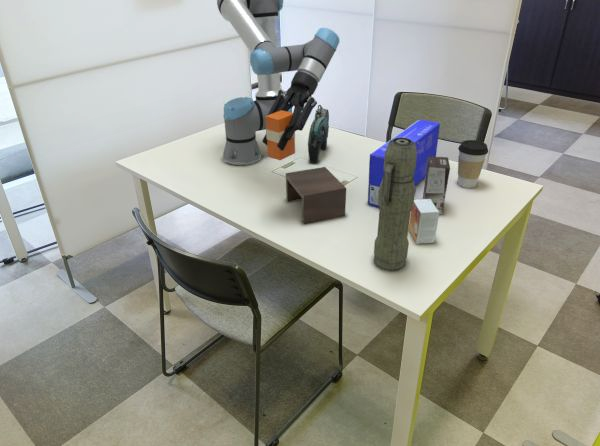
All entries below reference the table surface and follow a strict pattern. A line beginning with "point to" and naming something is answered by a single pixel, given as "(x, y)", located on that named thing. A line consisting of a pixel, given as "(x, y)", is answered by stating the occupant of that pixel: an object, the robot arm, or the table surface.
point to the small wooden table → (316, 194)
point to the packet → (279, 134)
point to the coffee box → (436, 181)
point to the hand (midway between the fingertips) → (272, 145)
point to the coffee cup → (470, 162)
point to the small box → (423, 221)
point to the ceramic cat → (318, 134)
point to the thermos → (395, 204)
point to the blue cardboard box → (426, 146)
